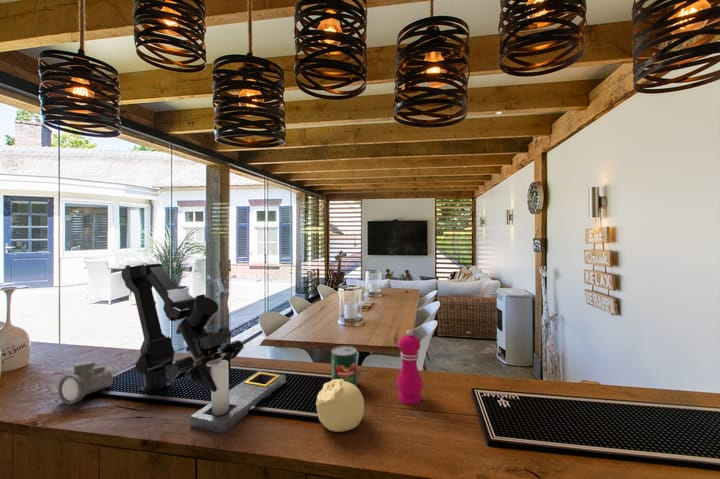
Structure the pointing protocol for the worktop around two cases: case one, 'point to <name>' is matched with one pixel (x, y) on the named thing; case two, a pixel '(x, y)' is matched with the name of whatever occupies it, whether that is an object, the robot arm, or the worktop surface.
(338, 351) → the canned tomato
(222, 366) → the peg
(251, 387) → the grey board with holes
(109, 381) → the grey flashlight
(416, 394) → the pepper mill
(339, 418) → the sculpture
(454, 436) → the worktop surface
